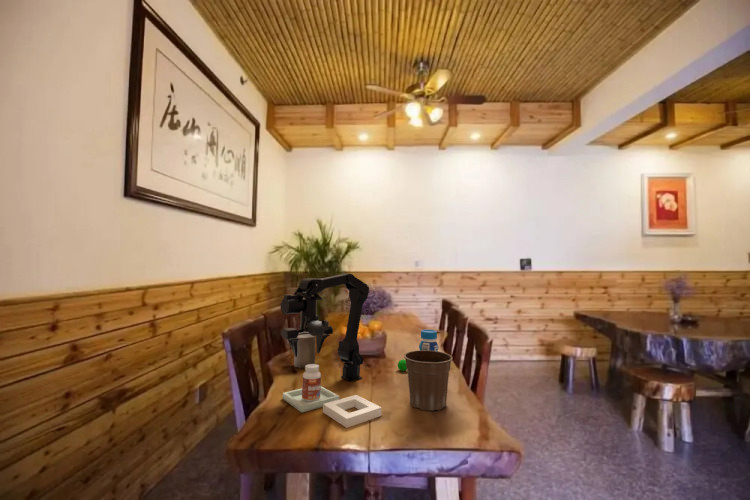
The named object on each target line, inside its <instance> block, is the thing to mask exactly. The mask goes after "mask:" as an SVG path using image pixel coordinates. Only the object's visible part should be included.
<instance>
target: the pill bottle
mask: <svg viewBox="0 0 750 500" xmlns="http://www.w3.org/2000/svg"><path fill="white" fill-rule="evenodd" d="M304 369H305V371H304V372H303V374H302V384H301V386H302V387H301V389H302V399H303V400H304V401H307V402H313V401H317V400H319V399H320V389H321V386H322V379H321V378H322V374H321V372H320V371H319V370H320V365H319V364H317V363H315V364H308V365H306V366H305V368H304Z"/></svg>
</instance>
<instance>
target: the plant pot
mask: <svg viewBox="0 0 750 500" xmlns="http://www.w3.org/2000/svg"><path fill="white" fill-rule="evenodd" d="M403 357H404V360H406V368H407V370H406V371H407V378H408V380H407V381H408V390H409V402H410V404H411V406H412V407H413V408H415V409H418V408H419V410H422V411H427V412H435V411H434V410H437V411H441V410H443V409H444V408H445V407H447V398H448V397H447V396H448V386H449V385H448V384H449V376H450V375H449V374H450V371H451V363H452V360H453V356H452V355H450V354H449V353H446V352H442V351H439V350H438V351H430V350H420V349H418V350H411V351H408V352H406V353H404V355H403Z"/></svg>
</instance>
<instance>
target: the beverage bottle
mask: <svg viewBox="0 0 750 500" xmlns="http://www.w3.org/2000/svg"><path fill="white" fill-rule="evenodd" d="M437 332H438V331H437V330H434V329H421V331H420V339H422V340H421V341H420V343H419V345H418V348H419V349H418V350H430V351H439V345H438V342H437V339H438V333H437Z"/></svg>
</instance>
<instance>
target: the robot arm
mask: <svg viewBox="0 0 750 500" xmlns="http://www.w3.org/2000/svg"><path fill="white" fill-rule="evenodd" d="M341 285H344V288H346V290H348V297H349V300H350V308H349V313H348V319H347V325H346V331H345V335H344V338H343V339H342V340H339V341H338V347H337V351H338V352H337V355H338V357H339V358H340V361H341V363H343V366H342V375H341V376H340V378H342V379H343V380H345V381H348V382H352V381H356V380H360V379H361V380H362V379H363V377H362V376H361V375H360V374H361V366H362V365H363V364H364V360H365V359H364V357H363V356H362V354H360V345H359V342H358V341H359V340H358V335H359V329H360V322H361V317H362V316H361V315H362V310H363V305H364V303H366V301H367V299H368V297H369V293H370V287H369V285H368V284H367V283H365V282H363V280H361V279H359V278H357V277H356V276H355V275H354V274H352V273H351V272H350V273H347V272H344V273H342V274H337V275H332V276H328V277H323V278H303V279H301V281H300V283H299V286H298V287H297V288H296V290H295V291H294V293H293V294H284V296H283V297H284V298H283V299H282V300H281V303H280V311H281V313H282V314H283V315H291V314H292V315H293V314H299V317H298V318H300V325H298V329H297V328H294V327H286V328H283V329H282V330H281V334H280V335H281V337H282V338H284V339H285V340H287V341H288V343H289V345H290V348H291V351H292V353H293V355H294V356H295V357H297V342H298V340H299V339H298V338H297V337H298V335H302V334H311V335H312V336H315V350H316V353H317V354H320V352H321V349H322V347H323V345H324V342H325V340H326V339H327V338H328V337H330V336H331V335H333V334H334V328H333V326H332V325H329V324H330V323H329V321H328V320H322V321H320V320H319V315H317V311H318V310H317V309H318V307H317V306H318V301H322V300H323V298H322V296H320V295H319V293H321V292H323V291H324V290H325V289H329V288H333V287H336V286H341ZM294 356H293V357H294Z"/></svg>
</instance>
